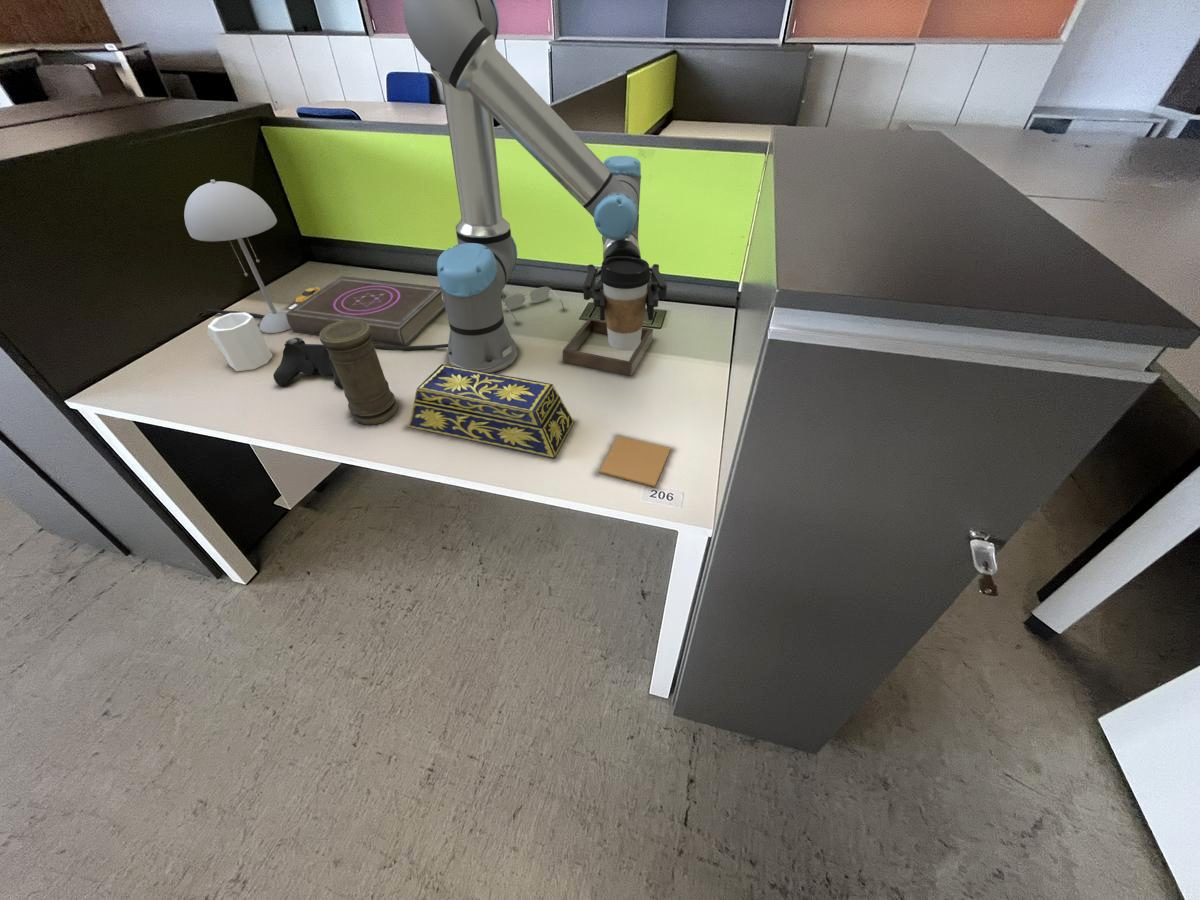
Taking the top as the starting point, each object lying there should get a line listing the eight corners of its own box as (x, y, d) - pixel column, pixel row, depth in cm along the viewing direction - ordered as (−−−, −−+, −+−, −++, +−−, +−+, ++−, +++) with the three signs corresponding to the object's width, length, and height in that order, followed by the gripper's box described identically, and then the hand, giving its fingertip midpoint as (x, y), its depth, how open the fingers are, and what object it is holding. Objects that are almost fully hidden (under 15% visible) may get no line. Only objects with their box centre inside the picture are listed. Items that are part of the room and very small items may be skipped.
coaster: (599, 473, 90) (599, 470, 89) (618, 437, 97) (618, 435, 96) (654, 487, 87) (655, 485, 87) (670, 449, 94) (670, 447, 94)
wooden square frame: (563, 362, 116) (562, 350, 114) (589, 328, 127) (589, 317, 125) (631, 376, 111) (631, 364, 109) (652, 340, 123) (653, 328, 121)
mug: (280, 353, 120) (261, 314, 113) (252, 373, 113) (230, 333, 107) (237, 346, 122) (216, 307, 115) (208, 366, 116) (183, 326, 109)
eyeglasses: (551, 298, 139) (550, 284, 136) (565, 312, 134) (565, 298, 132) (503, 311, 134) (501, 297, 131) (516, 326, 129) (515, 312, 126)
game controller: (364, 384, 115) (360, 338, 112) (347, 388, 108) (342, 339, 105) (292, 382, 115) (287, 336, 113) (272, 386, 109) (265, 337, 106)
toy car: (292, 305, 137) (289, 297, 135) (314, 291, 143) (311, 283, 141) (305, 307, 136) (302, 299, 134) (327, 293, 142) (323, 285, 140)
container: (384, 427, 99) (353, 345, 87) (342, 422, 101) (306, 340, 89) (406, 400, 106) (380, 319, 94) (366, 395, 107) (335, 315, 95)
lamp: (279, 346, 122) (207, 195, 100) (225, 334, 126) (144, 187, 104) (331, 313, 134) (276, 172, 112) (279, 303, 138) (217, 166, 116)
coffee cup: (599, 332, 99) (597, 254, 89) (643, 329, 99) (646, 251, 89) (603, 356, 93) (602, 274, 83) (650, 352, 93) (655, 271, 83)
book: (448, 305, 137) (444, 287, 133) (403, 348, 121) (398, 329, 117) (347, 293, 143) (341, 275, 139) (292, 332, 127) (283, 314, 123)
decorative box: (554, 458, 92) (551, 419, 86) (408, 427, 99) (396, 388, 93) (575, 422, 100) (573, 383, 94) (438, 395, 107) (428, 357, 101)
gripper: (671, 276, 106) (685, 332, 89) (571, 276, 106) (567, 333, 89) (674, 238, 101) (690, 291, 84) (570, 239, 101) (564, 292, 84)
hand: (626, 312), depth 87 cm, fingers closed on coffee cup, 7 cm apart
